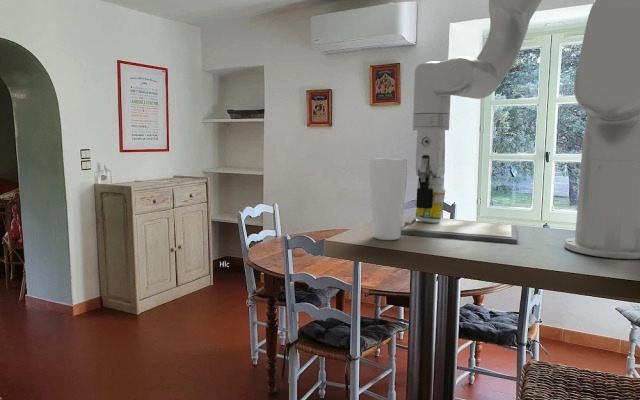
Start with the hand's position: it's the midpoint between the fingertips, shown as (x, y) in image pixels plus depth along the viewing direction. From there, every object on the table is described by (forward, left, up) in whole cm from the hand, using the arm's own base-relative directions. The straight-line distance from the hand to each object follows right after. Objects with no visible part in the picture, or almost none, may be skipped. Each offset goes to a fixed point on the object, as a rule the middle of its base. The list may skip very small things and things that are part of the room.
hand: (427, 205), depth 103 cm
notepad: (-7, +3, -5) cm, 9 cm away
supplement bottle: (0, 0, -4) cm, 4 cm away
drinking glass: (+5, +16, -5) cm, 17 cm away
